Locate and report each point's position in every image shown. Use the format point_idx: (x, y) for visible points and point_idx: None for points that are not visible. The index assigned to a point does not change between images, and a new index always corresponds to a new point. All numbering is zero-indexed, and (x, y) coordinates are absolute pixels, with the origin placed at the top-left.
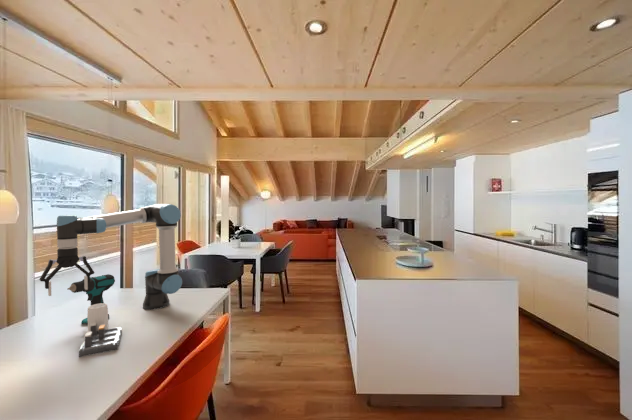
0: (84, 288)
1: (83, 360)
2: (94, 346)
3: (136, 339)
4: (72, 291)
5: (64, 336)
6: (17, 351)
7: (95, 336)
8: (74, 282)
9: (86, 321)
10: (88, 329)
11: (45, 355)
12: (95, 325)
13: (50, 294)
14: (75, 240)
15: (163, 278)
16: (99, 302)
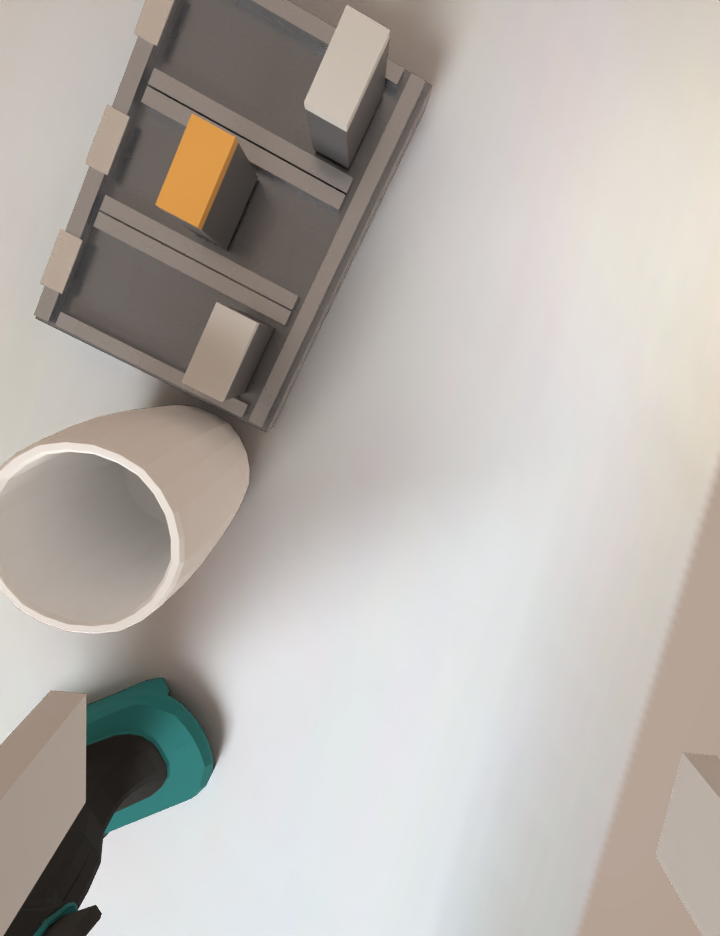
0: (82, 806)
1: (426, 6)
2: (332, 28)
3: (20, 52)
4: None
5: (364, 616)
6: (622, 594)
7: (254, 274)
8: None
9: (190, 731)
10: (244, 484)
11: (547, 362)
12: (220, 303)
13: (716, 778)
14: None
15: None
16: None
